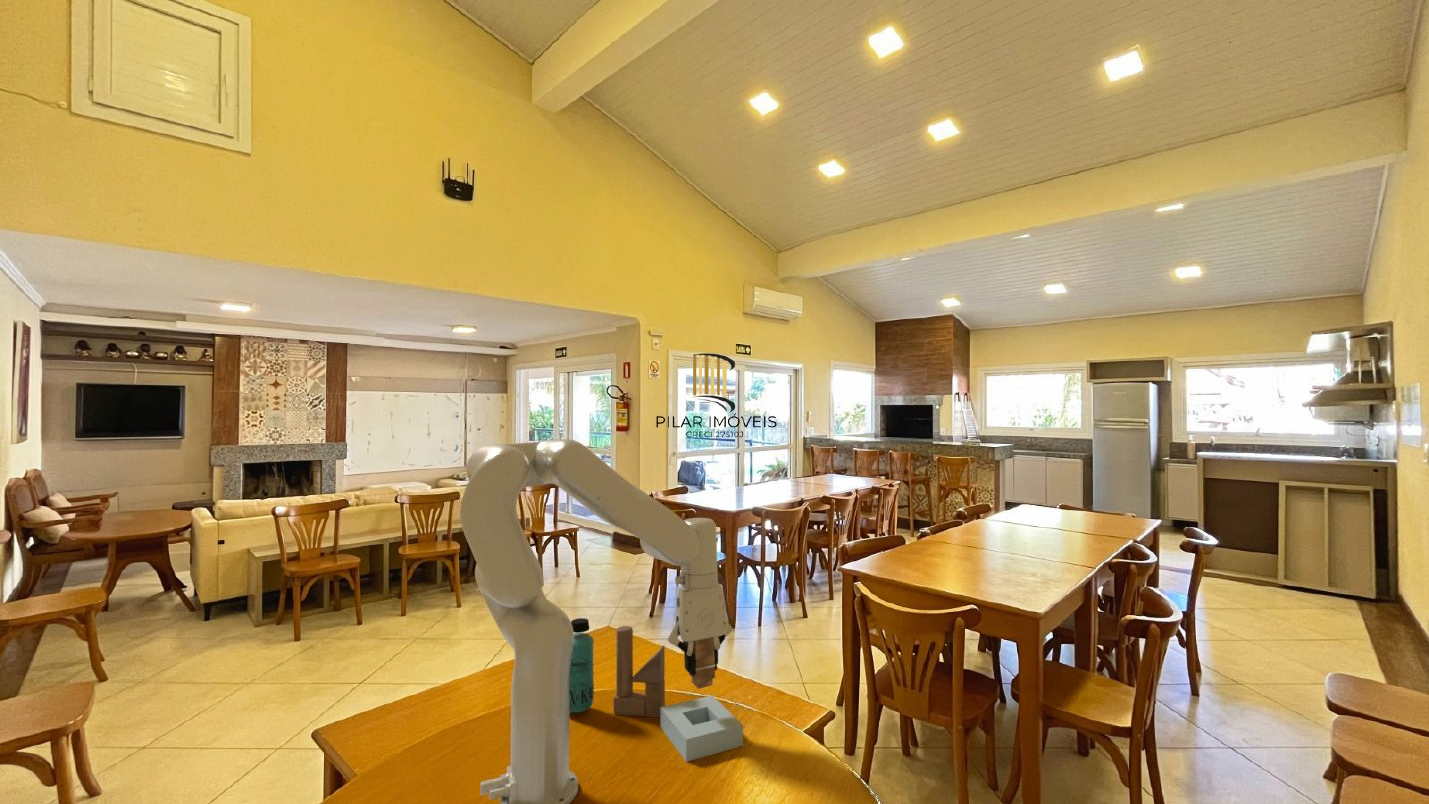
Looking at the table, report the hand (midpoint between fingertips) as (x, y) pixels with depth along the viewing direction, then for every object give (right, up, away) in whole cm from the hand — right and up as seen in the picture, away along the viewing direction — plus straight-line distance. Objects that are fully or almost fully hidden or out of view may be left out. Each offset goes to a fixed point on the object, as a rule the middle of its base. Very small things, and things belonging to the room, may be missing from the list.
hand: (701, 669), depth 114 cm
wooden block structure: (-14, -14, +9) cm, 22 cm away
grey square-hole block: (0, -13, -1) cm, 13 cm away
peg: (0, -3, 0) cm, 3 cm away
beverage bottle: (-27, -14, +9) cm, 32 cm away
